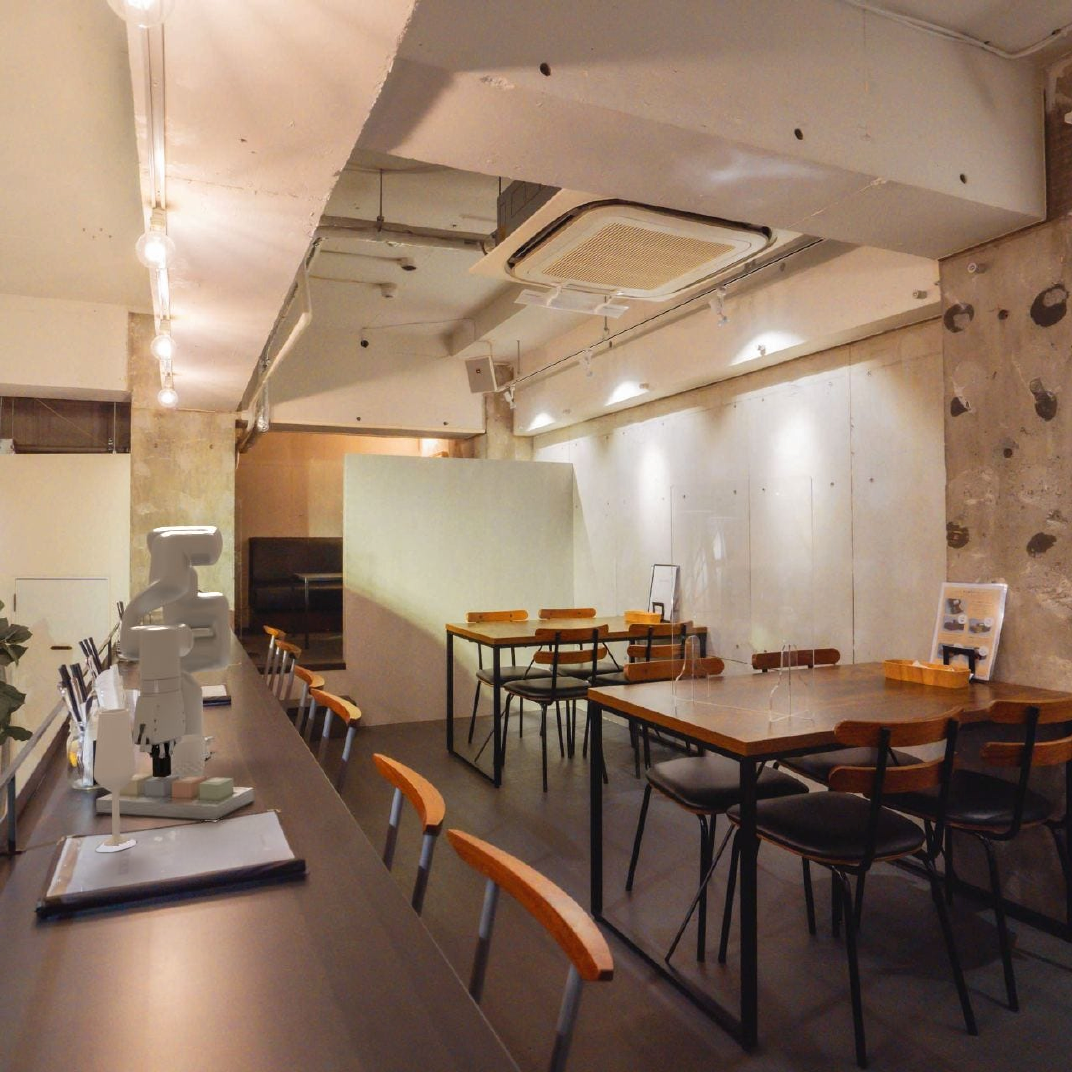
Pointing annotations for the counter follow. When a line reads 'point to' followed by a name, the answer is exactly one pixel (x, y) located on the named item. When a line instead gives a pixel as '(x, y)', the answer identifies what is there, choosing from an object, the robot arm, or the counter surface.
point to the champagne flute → (114, 762)
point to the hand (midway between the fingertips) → (161, 775)
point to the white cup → (189, 756)
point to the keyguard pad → (177, 806)
